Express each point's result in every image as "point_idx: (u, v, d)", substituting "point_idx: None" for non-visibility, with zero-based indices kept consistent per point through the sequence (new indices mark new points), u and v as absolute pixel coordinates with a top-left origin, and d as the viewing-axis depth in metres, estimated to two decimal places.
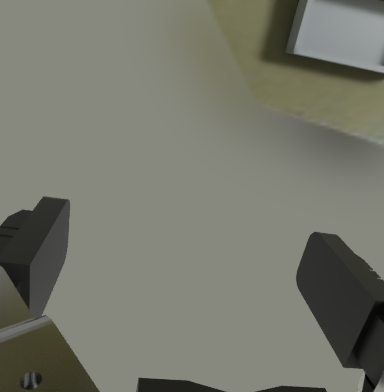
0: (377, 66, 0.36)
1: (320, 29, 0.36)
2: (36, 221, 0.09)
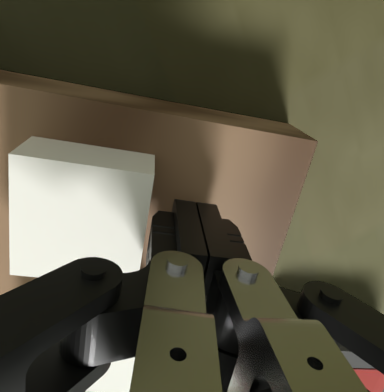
0: None
1: None
2: (186, 220, 0.10)
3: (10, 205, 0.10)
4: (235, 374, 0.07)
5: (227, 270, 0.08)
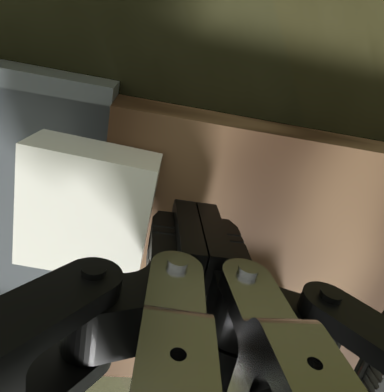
0: None
1: (15, 139, 0.14)
2: (186, 220, 0.10)
3: (15, 194, 0.10)
4: (235, 374, 0.07)
5: (227, 270, 0.08)
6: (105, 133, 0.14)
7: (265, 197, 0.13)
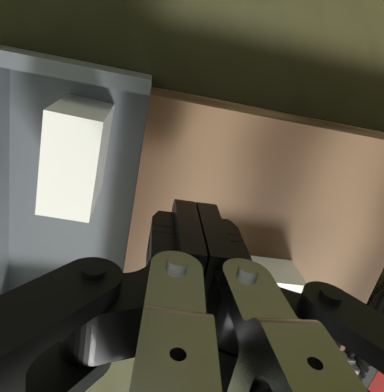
0: None
1: None
2: (186, 220, 0.10)
3: None
4: (235, 374, 0.07)
5: (227, 270, 0.08)
6: (138, 120, 0.16)
7: (278, 176, 0.15)
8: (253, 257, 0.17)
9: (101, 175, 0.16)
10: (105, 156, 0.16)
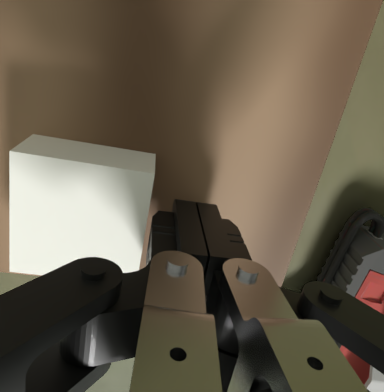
0: None
1: None
2: (186, 220, 0.10)
3: None
4: (235, 374, 0.07)
5: (227, 270, 0.08)
6: None
7: (145, 17, 0.10)
8: (94, 145, 0.12)
9: None
10: None
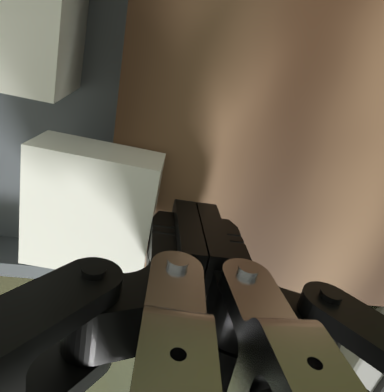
0: None
1: None
2: (186, 220, 0.10)
3: None
4: (235, 374, 0.07)
5: (227, 270, 0.08)
6: None
7: (311, 56, 0.12)
8: (105, 142, 0.12)
9: (76, 62, 0.12)
10: (81, 39, 0.12)
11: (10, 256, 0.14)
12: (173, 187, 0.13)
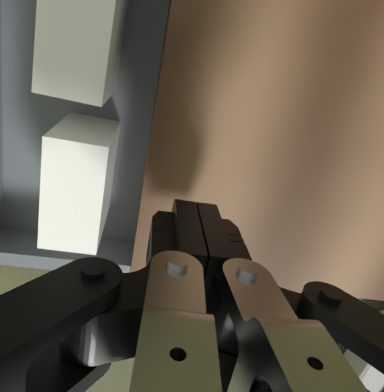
0: None
1: None
2: (186, 220, 0.10)
3: None
4: (235, 374, 0.07)
5: (227, 270, 0.08)
6: (161, 2, 0.13)
7: (339, 62, 0.12)
8: (111, 131, 0.13)
9: (115, 67, 0.13)
10: (120, 45, 0.13)
11: (46, 249, 0.15)
12: (205, 185, 0.14)
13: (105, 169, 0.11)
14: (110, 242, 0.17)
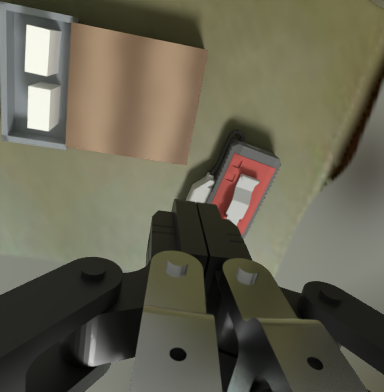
0: (5, 104, 0.35)
1: None
2: (186, 220, 0.10)
3: None
4: (235, 374, 0.07)
5: (227, 270, 0.08)
6: None
7: (133, 61, 0.34)
8: (54, 87, 0.35)
9: (55, 63, 0.35)
10: (57, 55, 0.35)
11: (32, 137, 0.37)
12: (90, 108, 0.36)
13: (49, 98, 0.34)
14: (59, 139, 0.39)
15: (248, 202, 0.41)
